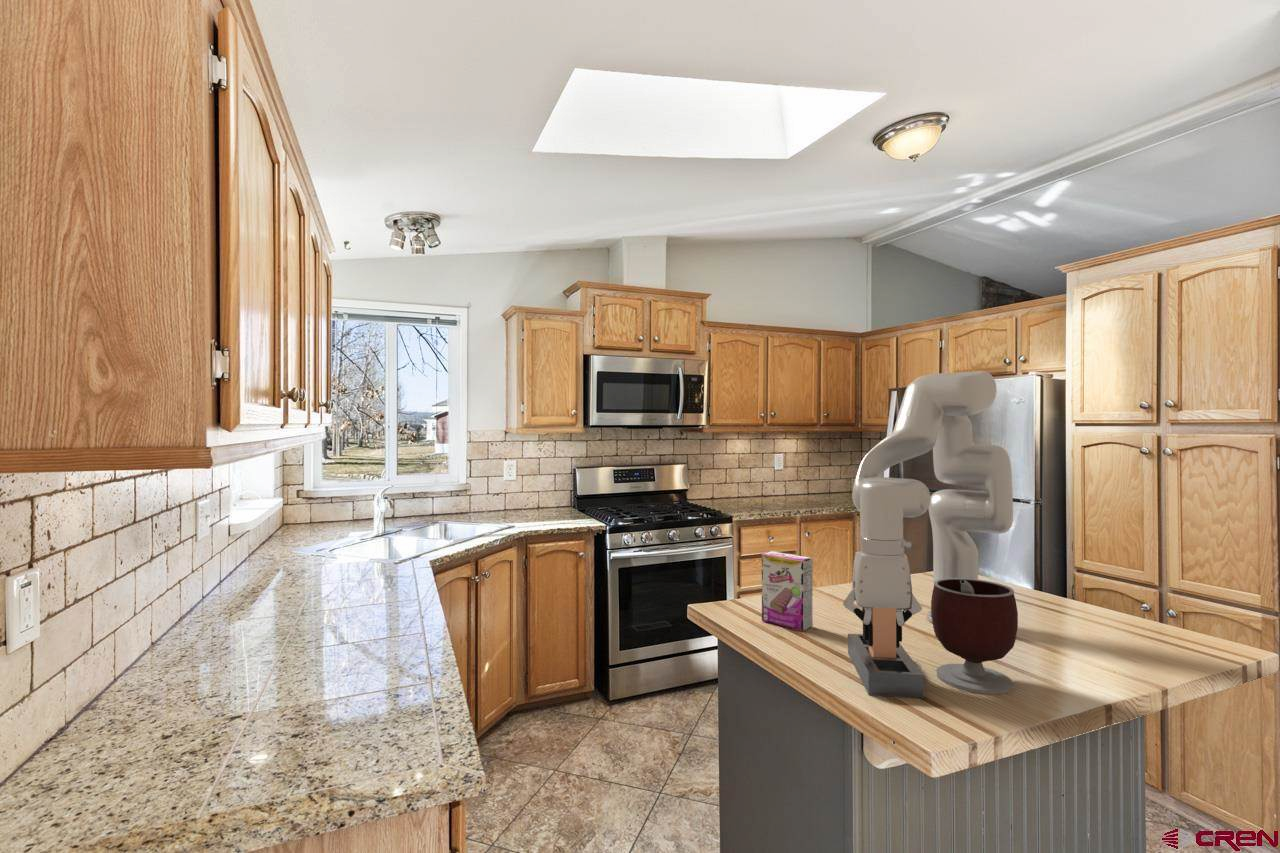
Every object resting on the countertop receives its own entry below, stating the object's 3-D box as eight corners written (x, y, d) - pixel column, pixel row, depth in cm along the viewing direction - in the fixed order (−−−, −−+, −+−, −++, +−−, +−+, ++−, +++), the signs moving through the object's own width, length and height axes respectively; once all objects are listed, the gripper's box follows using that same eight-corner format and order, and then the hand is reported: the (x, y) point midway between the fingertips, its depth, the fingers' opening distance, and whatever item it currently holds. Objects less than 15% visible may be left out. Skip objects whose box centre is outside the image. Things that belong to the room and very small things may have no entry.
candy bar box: (760, 621, 143) (760, 553, 144) (771, 617, 147) (771, 550, 147) (803, 632, 136) (802, 560, 136) (813, 627, 140) (813, 556, 140)
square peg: (891, 663, 114) (890, 594, 114) (896, 671, 110) (895, 600, 110) (869, 661, 115) (868, 593, 115) (873, 669, 111) (873, 599, 111)
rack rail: (894, 655, 121) (894, 635, 121) (924, 698, 102) (923, 675, 102) (848, 653, 123) (847, 633, 123) (868, 695, 103) (868, 671, 103)
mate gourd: (941, 659, 119) (940, 559, 119) (1023, 677, 110) (1022, 569, 111) (920, 685, 107) (919, 573, 108) (1010, 707, 98) (1009, 585, 99)
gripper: (922, 544, 115) (923, 640, 115) (832, 542, 118) (833, 635, 117) (935, 552, 108) (936, 654, 107) (838, 549, 110) (839, 649, 110)
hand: (882, 643), depth 112 cm, fingers closed on square peg, 4 cm apart
